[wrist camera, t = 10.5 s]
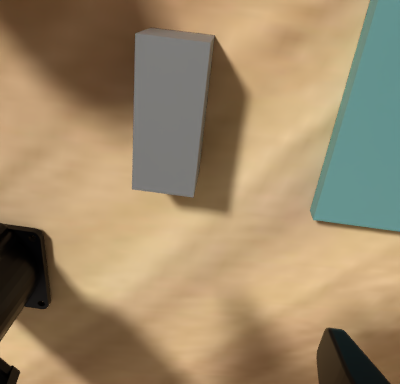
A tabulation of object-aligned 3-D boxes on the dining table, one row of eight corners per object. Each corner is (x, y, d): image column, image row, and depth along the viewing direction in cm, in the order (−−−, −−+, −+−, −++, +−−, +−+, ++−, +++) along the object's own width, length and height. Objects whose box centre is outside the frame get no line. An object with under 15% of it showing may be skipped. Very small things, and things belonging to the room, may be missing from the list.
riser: (199, 171, 21) (193, 197, 18) (145, 164, 21) (132, 189, 18) (214, 35, 17) (210, 42, 15) (150, 27, 17) (135, 33, 15)
